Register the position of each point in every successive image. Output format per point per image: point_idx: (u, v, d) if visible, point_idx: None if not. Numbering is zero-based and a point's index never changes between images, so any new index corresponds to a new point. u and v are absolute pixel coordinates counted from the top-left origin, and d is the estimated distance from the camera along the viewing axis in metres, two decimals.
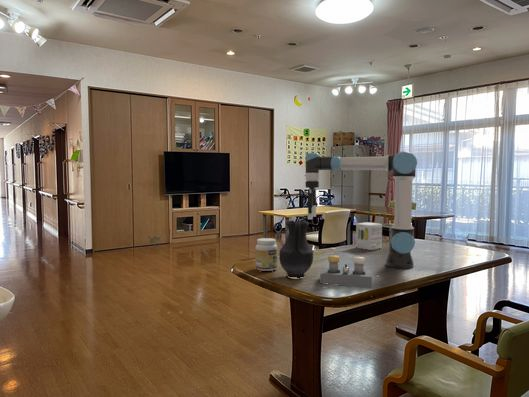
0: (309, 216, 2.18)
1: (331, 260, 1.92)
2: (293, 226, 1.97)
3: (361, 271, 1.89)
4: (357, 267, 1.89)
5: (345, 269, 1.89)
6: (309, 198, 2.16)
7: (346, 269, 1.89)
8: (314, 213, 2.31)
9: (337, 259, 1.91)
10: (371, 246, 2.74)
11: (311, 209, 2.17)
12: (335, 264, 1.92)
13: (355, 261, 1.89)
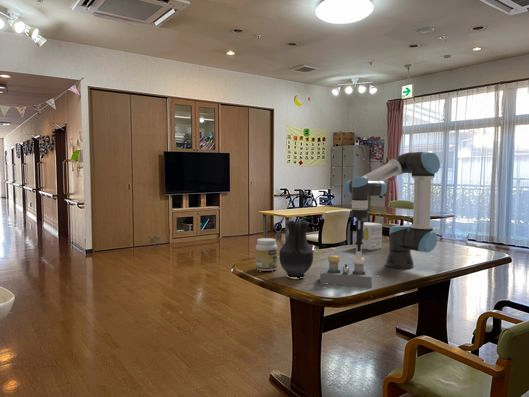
0: (358, 254, 1.90)
1: (331, 260, 1.92)
2: (293, 226, 1.97)
3: (361, 271, 1.89)
4: (357, 268, 1.89)
5: (345, 269, 1.89)
6: (358, 235, 1.85)
7: (346, 269, 1.89)
8: None
9: (337, 259, 1.91)
10: (371, 246, 2.74)
11: None
12: (335, 264, 1.92)
13: (355, 261, 1.89)
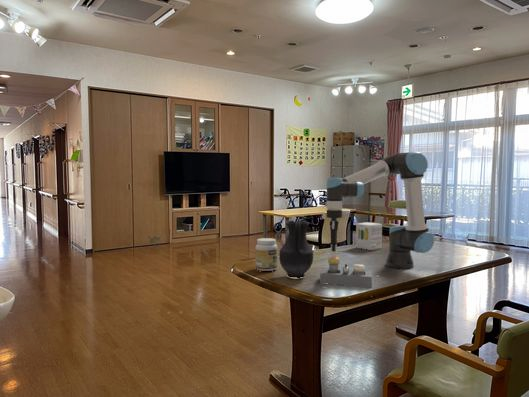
0: (332, 254, 1.93)
1: (331, 261, 1.92)
2: (293, 226, 1.97)
3: None
4: None
5: (345, 269, 1.89)
6: (332, 235, 1.88)
7: (346, 269, 1.89)
8: None
9: (337, 260, 1.91)
10: (371, 246, 2.74)
11: (335, 246, 1.92)
12: (335, 265, 1.92)
13: (355, 269, 1.89)
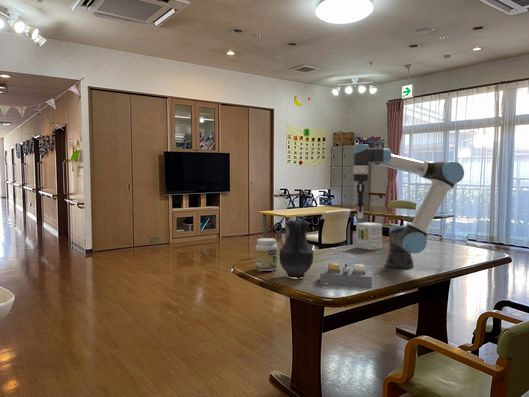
0: (359, 215, 2.09)
1: (331, 268, 1.92)
2: (293, 226, 1.97)
3: None
4: None
5: (345, 269, 1.89)
6: (359, 197, 2.05)
7: (346, 269, 1.89)
8: None
9: (337, 267, 1.92)
10: (371, 246, 2.74)
11: None
12: (335, 272, 1.92)
13: (355, 269, 1.89)
